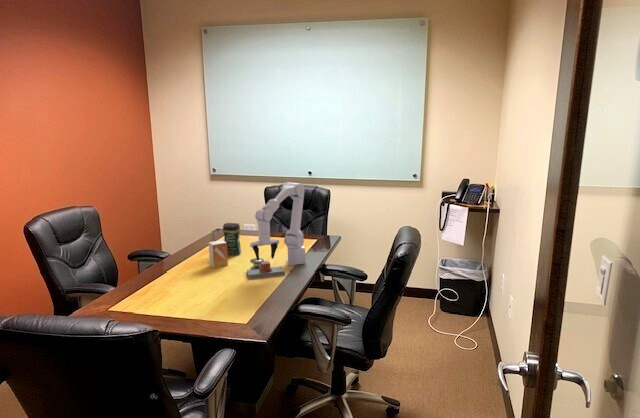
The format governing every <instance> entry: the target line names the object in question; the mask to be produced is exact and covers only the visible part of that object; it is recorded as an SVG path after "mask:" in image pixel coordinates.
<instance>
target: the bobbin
mask: <svg viewBox="0 0 640 418" xmlns="http://www.w3.org/2000/svg"><path fill="white" fill-rule="evenodd" d="M264 261H265V259H264V258H261V257H259V261H258V260H257V258H256V257H255V258H254V257H253V258H252V259H251V258H250V263H251V264H253V265H252V266H250V269H259V270H260V272H261V263H260V262H264Z"/></svg>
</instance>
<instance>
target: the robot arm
mask: <svg viewBox="0 0 640 418" xmlns="http://www.w3.org/2000/svg"><path fill="white" fill-rule="evenodd" d="M305 190H306V189H305V186H304V185H303V184H302V183H297V182H290V181H287V182H285V183H284V184H283V185H282V188H281V190H280V191H279V193H278V194H277V195H276V196H275V197H274V198H272V199H271V198H270V199H269V200H268V201H267V203H266V204H265V205H264V206H263V207H262V208H259V209H258V210H256V212H255V215H254V218H255V219H256V223H257V228H258V229H257V231H258V240H256V241H252V242H249V246H250V248H252V249H253V253H254V254H255V258H257V260H258V261H259V258H260V253H259V252H260V248H259V247H261V246H270V249H271V253H270V256H271V259H274V258H275V255H276V254H275V253H276V250H277V249H278V247H279V245H280V239H271V225H270V222H271V220H272V218H273V216H274V213H275V212H276V211H277V210H278V209H279V208H280V204H281V203H282V202H283V201H284V200H286V198H287V197H290V198H291V200H293V202H292V209H291V217H290V219H291V220H290V227H289V229H288V230H287V231H285V236H284V238H283V239H284V240H283V242H284V245H286V247H287V259H286V260H285V261H286V263H287V265H289V266H292V265H293V266H294V265H303V264H304V265H305V264H306V263H307V262H306V248H305V246H304V243H305V242H304V241H305V239H304V233H303V231H302V230H301V223H302V214H303V209H304V208H303V206H304V198H305Z"/></svg>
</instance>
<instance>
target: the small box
mask: <svg viewBox="0 0 640 418" xmlns="http://www.w3.org/2000/svg"><path fill="white" fill-rule="evenodd" d="M208 257H209V266H210V267H212V268H213V269H216V268H221V267H228V266H229V260H228V257H229V256H228V255H227V242H225V241H224V240H223V239H222V240H216V241H215V240H214V241H209V242H208Z"/></svg>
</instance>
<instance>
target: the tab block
mask: <svg viewBox="0 0 640 418" xmlns="http://www.w3.org/2000/svg"><path fill="white" fill-rule="evenodd" d="M260 263H261V271H260V272H261V273H263V272H271V270H270V267H271V263H270V262H269V260H266V261H265V260H264V262H260Z"/></svg>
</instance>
